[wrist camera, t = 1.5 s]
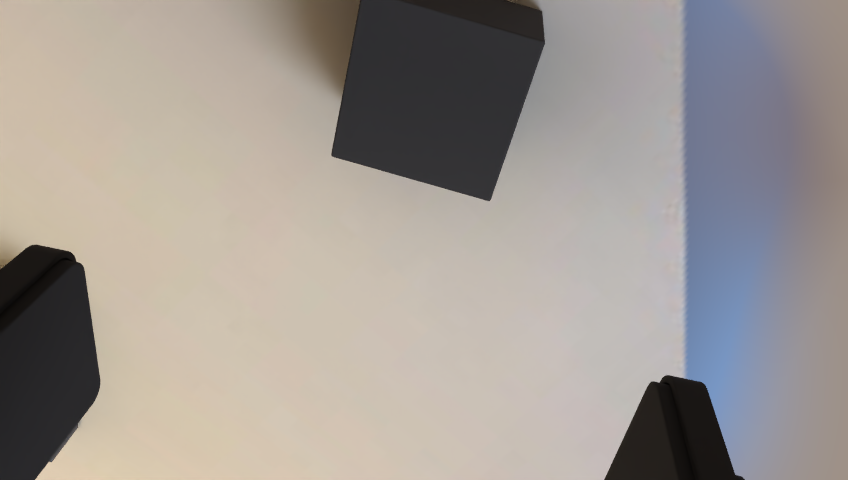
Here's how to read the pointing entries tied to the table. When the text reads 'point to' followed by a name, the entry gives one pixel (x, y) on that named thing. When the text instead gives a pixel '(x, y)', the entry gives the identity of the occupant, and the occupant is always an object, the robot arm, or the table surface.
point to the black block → (438, 89)
